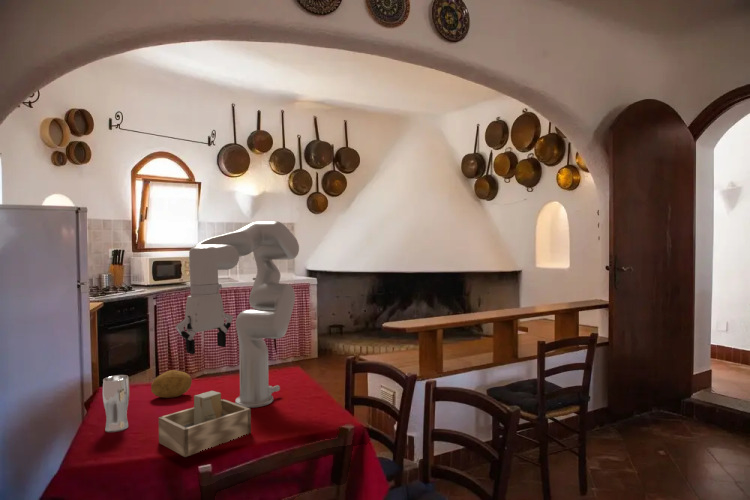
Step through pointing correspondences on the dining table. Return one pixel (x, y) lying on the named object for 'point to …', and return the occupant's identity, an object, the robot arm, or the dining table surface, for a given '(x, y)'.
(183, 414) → the insert box
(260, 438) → the dining table surface
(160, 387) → the potato
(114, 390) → the beer glass
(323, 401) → the dining table surface
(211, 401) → the skincare box
